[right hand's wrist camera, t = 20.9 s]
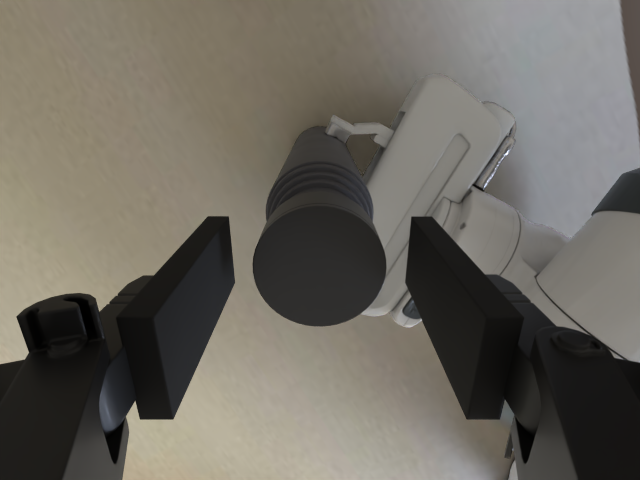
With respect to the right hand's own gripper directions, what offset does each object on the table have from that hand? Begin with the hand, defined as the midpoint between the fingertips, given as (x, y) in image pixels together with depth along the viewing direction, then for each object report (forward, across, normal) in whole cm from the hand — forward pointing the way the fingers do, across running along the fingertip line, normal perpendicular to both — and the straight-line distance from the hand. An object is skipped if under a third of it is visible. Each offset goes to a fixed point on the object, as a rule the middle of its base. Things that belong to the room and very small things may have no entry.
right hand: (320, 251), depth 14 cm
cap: (-1, 0, 0) cm, 1 cm away
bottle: (+24, 0, 0) cm, 24 cm away
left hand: (+17, -1, 0) cm, 17 cm away
